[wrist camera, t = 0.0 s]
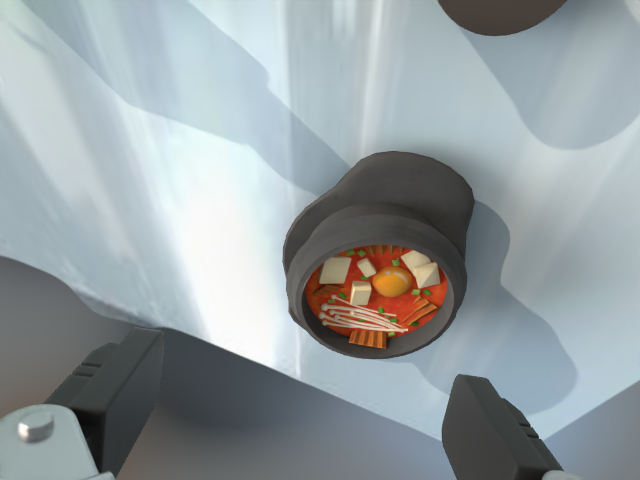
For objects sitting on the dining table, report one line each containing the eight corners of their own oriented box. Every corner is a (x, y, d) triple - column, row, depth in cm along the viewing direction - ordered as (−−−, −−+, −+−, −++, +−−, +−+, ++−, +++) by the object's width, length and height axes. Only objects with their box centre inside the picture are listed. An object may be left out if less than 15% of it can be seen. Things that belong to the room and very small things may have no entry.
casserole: (398, 348, 57) (405, 407, 50) (254, 305, 54) (242, 362, 47) (516, 183, 44) (549, 233, 37) (334, 112, 40) (332, 152, 33)
